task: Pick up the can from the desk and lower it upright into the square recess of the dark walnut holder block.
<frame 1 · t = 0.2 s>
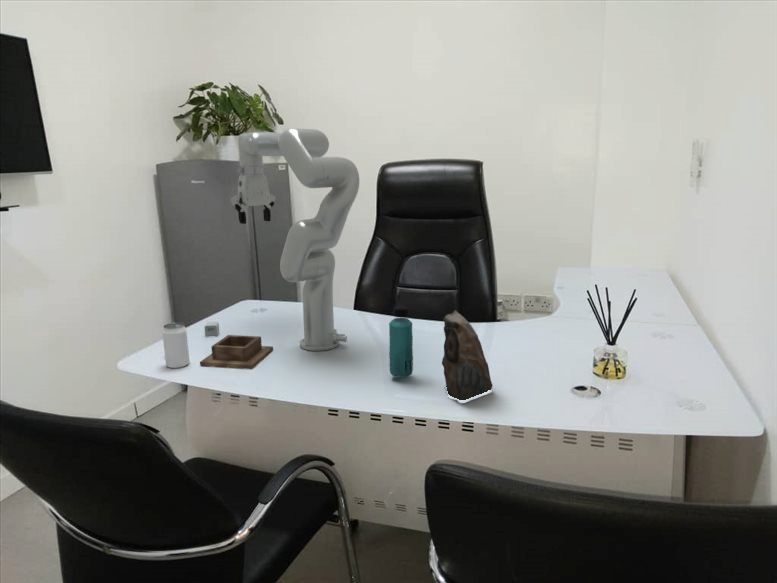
hand: (255, 222, 188), 37 cm above the table, tool pointing down, fingers open, 9 cm apart
beverage bottle: (401, 378, 148), on the table
can: (178, 365, 159), on the table
usb wall charger: (213, 334, 187), on the table
holder: (238, 357, 164), on the table
owl: (467, 393, 138), on the table
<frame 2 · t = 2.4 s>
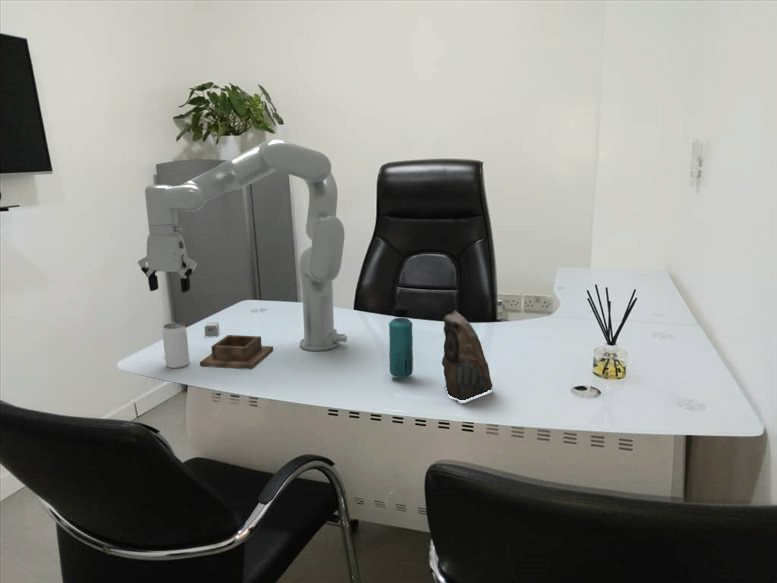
hand: (169, 290, 154), 22 cm above the table, tool pointing down, fingers open, 9 cm apart
nothing on the table moved.
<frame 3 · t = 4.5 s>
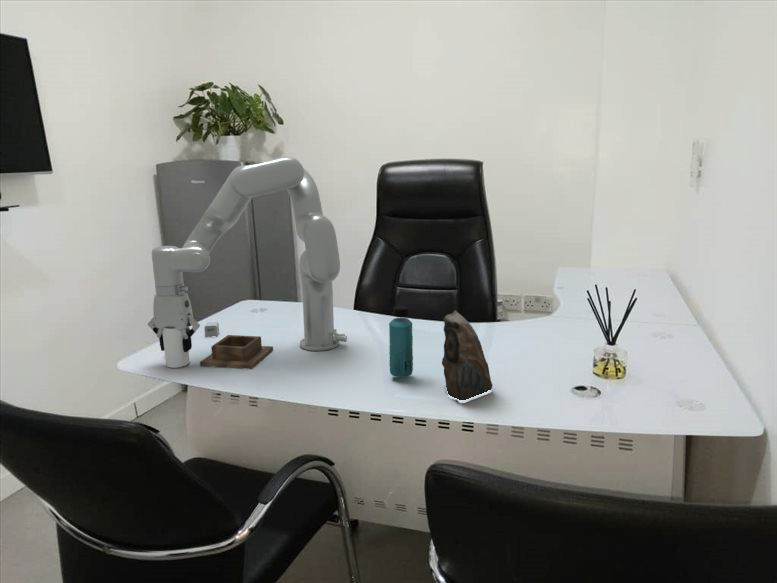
hand: (176, 349, 158), 5 cm above the table, tool pointing down, fingers closed on can, 6 cm apart
can: (178, 365, 159), on the table, touching gripper
everything else where it was.
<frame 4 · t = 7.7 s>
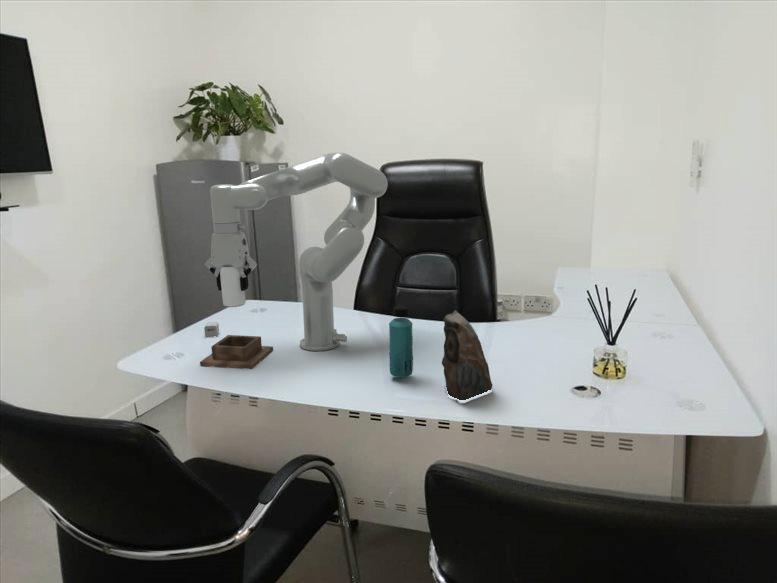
hand: (233, 289, 159), 21 cm above the table, tool pointing down, fingers closed on can, 6 cm apart
can: (234, 305, 160), point 16 cm above the table, touching gripper
everything else where it was.
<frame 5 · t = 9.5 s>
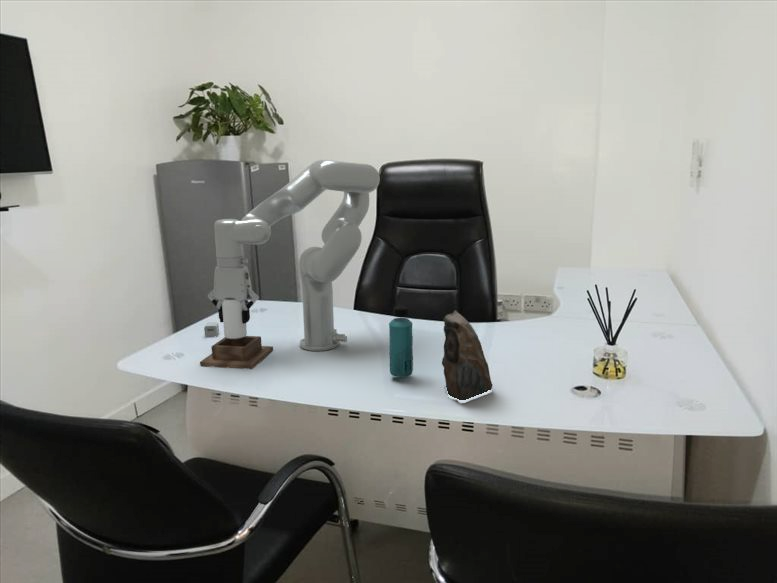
hand: (234, 321, 161), 12 cm above the table, tool pointing down, fingers closed on can, 6 cm apart
can: (235, 336, 162), point 7 cm above the table, touching gripper
everything else where it was.
when the fingers open (8 cm above the table, at t = 10.8 s): can drops 2 cm, resting on holder.
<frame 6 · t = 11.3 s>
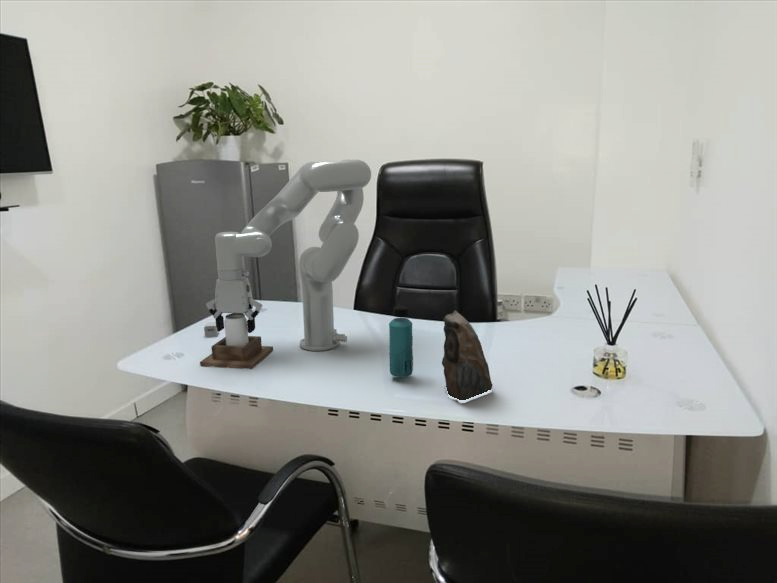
hand: (236, 330, 162), 9 cm above the table, tool pointing down, fingers open, 9 cm apart
can: (238, 354, 164), point 1 cm above the table, touching holder
everything else where it was.
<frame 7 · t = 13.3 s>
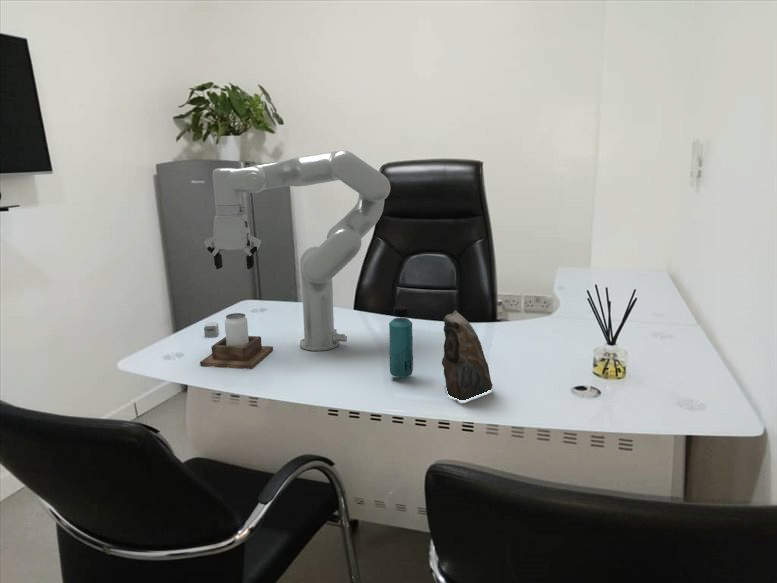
hand: (234, 268, 163), 26 cm above the table, tool pointing down, fingers open, 9 cm apart
nothing on the table moved.
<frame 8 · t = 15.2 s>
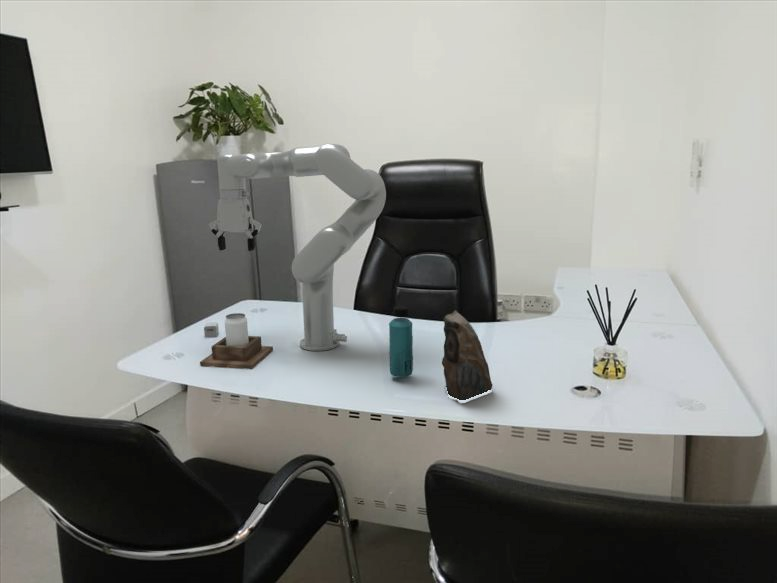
hand: (236, 250, 172), 30 cm above the table, tool pointing down, fingers open, 9 cm apart
nothing on the table moved.
at the end: can 0.2 cm off-centre on the holder, point 1.0 cm above the holder's base; can tilted 0°; the gripper is holding nothing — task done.
